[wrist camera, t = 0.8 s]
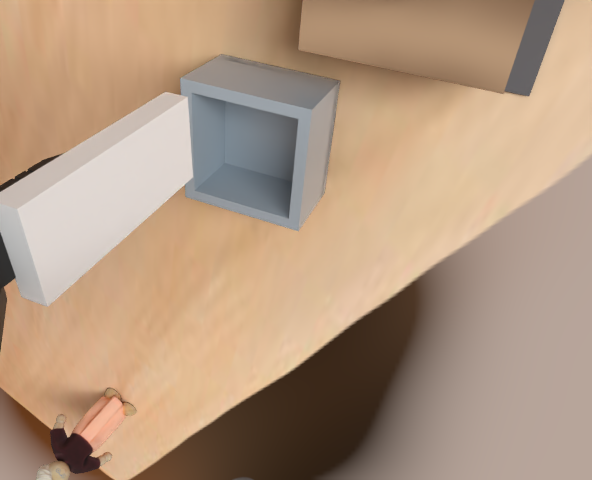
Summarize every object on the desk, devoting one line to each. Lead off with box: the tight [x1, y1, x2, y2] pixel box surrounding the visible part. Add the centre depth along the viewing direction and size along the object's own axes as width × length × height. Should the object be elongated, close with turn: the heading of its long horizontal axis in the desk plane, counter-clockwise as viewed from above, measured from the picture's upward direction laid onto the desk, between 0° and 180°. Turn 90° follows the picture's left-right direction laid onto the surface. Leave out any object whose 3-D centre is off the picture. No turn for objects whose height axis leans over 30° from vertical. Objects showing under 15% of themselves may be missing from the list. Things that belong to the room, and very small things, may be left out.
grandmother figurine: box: [36, 388, 136, 480], centre depth 59 cm, size 8×4×13 cm, turn 56°
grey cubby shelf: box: [180, 54, 340, 231], centre depth 33 cm, size 8×8×5 cm
